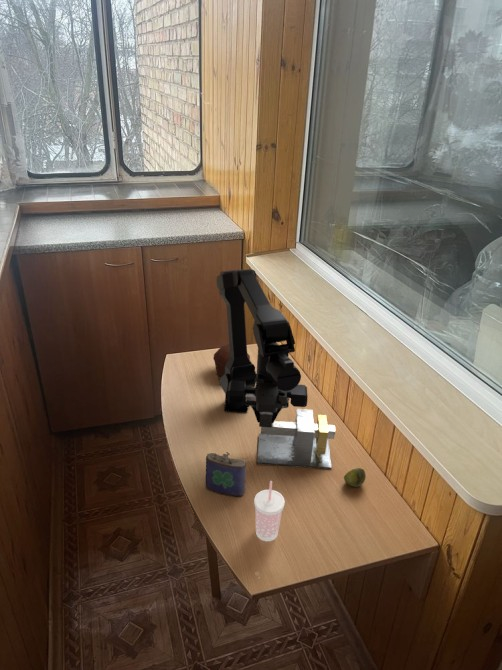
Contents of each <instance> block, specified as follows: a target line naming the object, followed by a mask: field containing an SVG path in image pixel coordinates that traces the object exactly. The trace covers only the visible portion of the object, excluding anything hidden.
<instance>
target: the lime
mask: <svg viewBox="0 0 502 670" xmlns="http://www.w3.org/2000/svg"><path fill="white" fill-rule="evenodd" d="M366 477H367V475H366V472H365V469H364V468H361V467H357V468H354V469H351V470H349V471H348V472H346V473H345V475H344V476H343V479H344V482H345V483H346V484H347V485H349V486H350V487H353V488H357V487H360V486H362V485H363V484H364V483H365V481H366Z"/></svg>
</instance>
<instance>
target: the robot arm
mask: <svg viewBox="0 0 502 670" xmlns="http://www.w3.org/2000/svg"><path fill="white" fill-rule="evenodd" d="M216 287H217V289H218V291H219V296H220V298H221V299H222V300H223V301H224V303H225V305H226V317H227V318H226V319H227V320H226V321H227V330H228V344H229V348H230V358H229V360H228V362H227V363H226V365H225V374H224V375H223V376H222V377H221V378H220V380H219V384H220V385H219V386H220V387H221V389H222V391H223V392H224V395H225V396H224V398H225V399H224V407H223V411H224V412H233V413H244V414H245V413H248V408H250V407H251V408H252V410H253V412H254V416H255V418H256V422H257V423H259V421H260V412H271V413H272V423H274V421H276V419H277V417H278V416H279V414H280V412H281V411H282V410H283V409H287V408H289V406H290V405H292V406H293V407H298V408H305V407H307V406H308V396H309V395H308V387H307V386H306V385H305V384H300V382H301V380H302V374H301V371H300V370H299V369H298V367H296V365H295V362H294V361H293V360H292V359H291V358H290V357H289V354H291V353H295V351H296V347H295V344H296V341H295V338H294V334H293V331H292V327H291V325H290V324H291V323H290V322H289V321H288V320H287V318H286V317H285V315H284V314H283V312H282V311H280V310H278V309H277V308H275V307H273V306H272V304H271V303H270V301H269V299H268V297H267V295H266V293H265V291H264V290H263V288H262V286H261V284H260V283H259V281H258V279H257V272H256V271H255V270H254V269H253V268H252V269H251V268H249V269H247V268H246V269H233V270H223V271H222V270H221V271H220V273H219V275H217V276H216ZM245 303H246V306H247V308H248V310H249V311H250V313H251V315H252V318H253V326H252V331H253V336H254V340H255V343H256V346H257V357H256V358H257V361H256V362H257V363H256V367H255V364H254V363H252V362H251V359H250V360H249V358H248V356H247V353H248V342H247V330H246V329H247V328H246V326H247V325H246V313H245V312H246V311H245ZM281 342H282V344H278V343H281ZM283 342H286V343H283ZM289 401H290V405H289Z"/></svg>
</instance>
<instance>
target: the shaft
mask: <svg viewBox="0 0 502 670" xmlns="http://www.w3.org/2000/svg"><path fill="white" fill-rule="evenodd" d="M258 423H259V424H258V426H259V428H260V434H269V435H283V436H296V431H297V423H296V422H295V421H294V422H293V421H280V420H277V421H276V420H275V421H274V423H272V413H271V412H260V421H259V422H258ZM327 426H328V438H327V439H328V440H334V439H335V437H336V436H335V435H336V426H335V425H333V424H327ZM314 432H315V433H314V438H318V437H319V427H318V424H317V423H314Z"/></svg>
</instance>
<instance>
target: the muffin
mask: <svg viewBox="0 0 502 670" xmlns="http://www.w3.org/2000/svg"><path fill="white" fill-rule="evenodd" d="M247 356H248V358H249V360H250V361H251V359H250V358H251V356H250V354H249V353H248V352H247ZM229 358H230V348H229V343H227V344H225V345H222V346H221V347H220V348H218V349H217V351H216V352H215V353H213V361H214V367H215V371H216V376H217V377H218V380H219V381H220V378H221V377H222V376H223V375H224V374H225V365H226V363H227V362H228V360H229Z"/></svg>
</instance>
